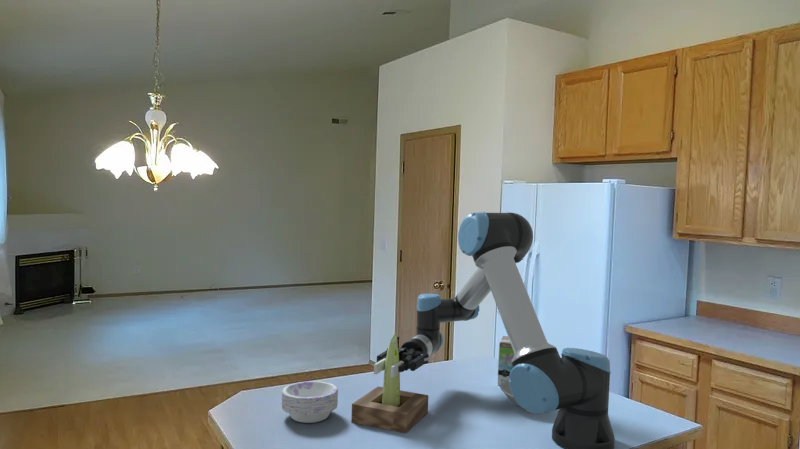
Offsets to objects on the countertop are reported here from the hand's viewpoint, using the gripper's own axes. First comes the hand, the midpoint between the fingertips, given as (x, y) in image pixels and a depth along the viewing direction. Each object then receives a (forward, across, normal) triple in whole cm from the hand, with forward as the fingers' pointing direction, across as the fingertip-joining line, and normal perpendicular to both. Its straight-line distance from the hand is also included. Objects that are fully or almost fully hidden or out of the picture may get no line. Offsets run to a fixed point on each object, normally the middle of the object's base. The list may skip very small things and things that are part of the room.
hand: (383, 370), depth 147 cm
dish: (-31, -32, -15) cm, 47 cm away
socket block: (-5, 0, -14) cm, 15 cm away
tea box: (-51, -27, -15) cm, 60 cm away
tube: (-5, 0, -11) cm, 12 cm away
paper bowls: (+5, +20, -15) cm, 25 cm away
